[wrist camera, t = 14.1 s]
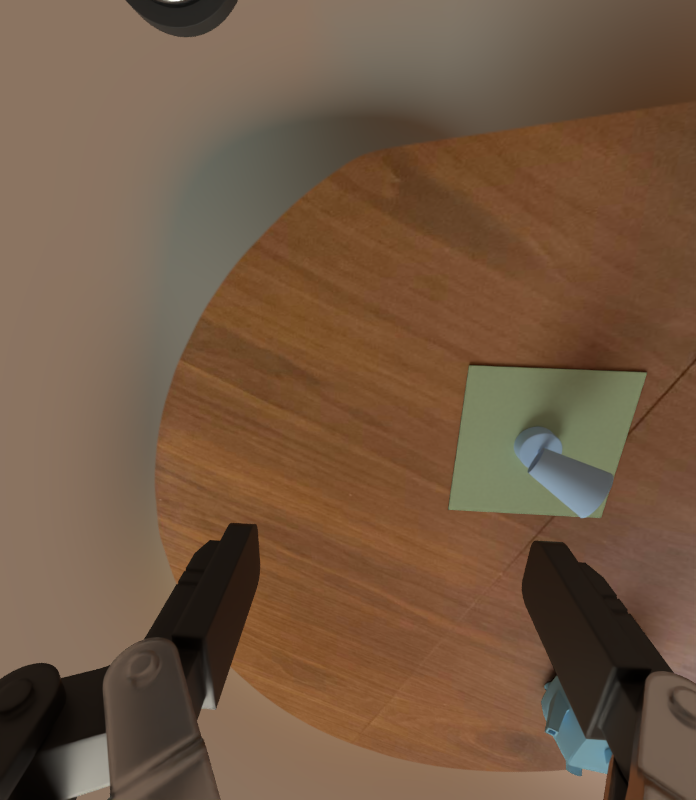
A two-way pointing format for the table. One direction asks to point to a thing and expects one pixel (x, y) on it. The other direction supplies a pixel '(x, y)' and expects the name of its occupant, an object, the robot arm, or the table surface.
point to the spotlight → (562, 471)
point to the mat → (529, 407)
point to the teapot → (572, 733)
